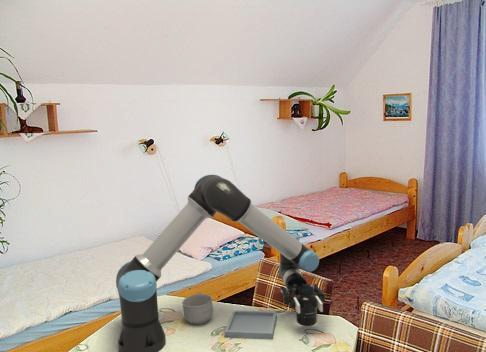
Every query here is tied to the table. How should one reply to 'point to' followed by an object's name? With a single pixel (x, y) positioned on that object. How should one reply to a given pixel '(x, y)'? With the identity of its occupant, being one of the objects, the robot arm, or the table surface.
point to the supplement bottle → (307, 306)
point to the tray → (251, 324)
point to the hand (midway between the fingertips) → (310, 308)
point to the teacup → (198, 308)
